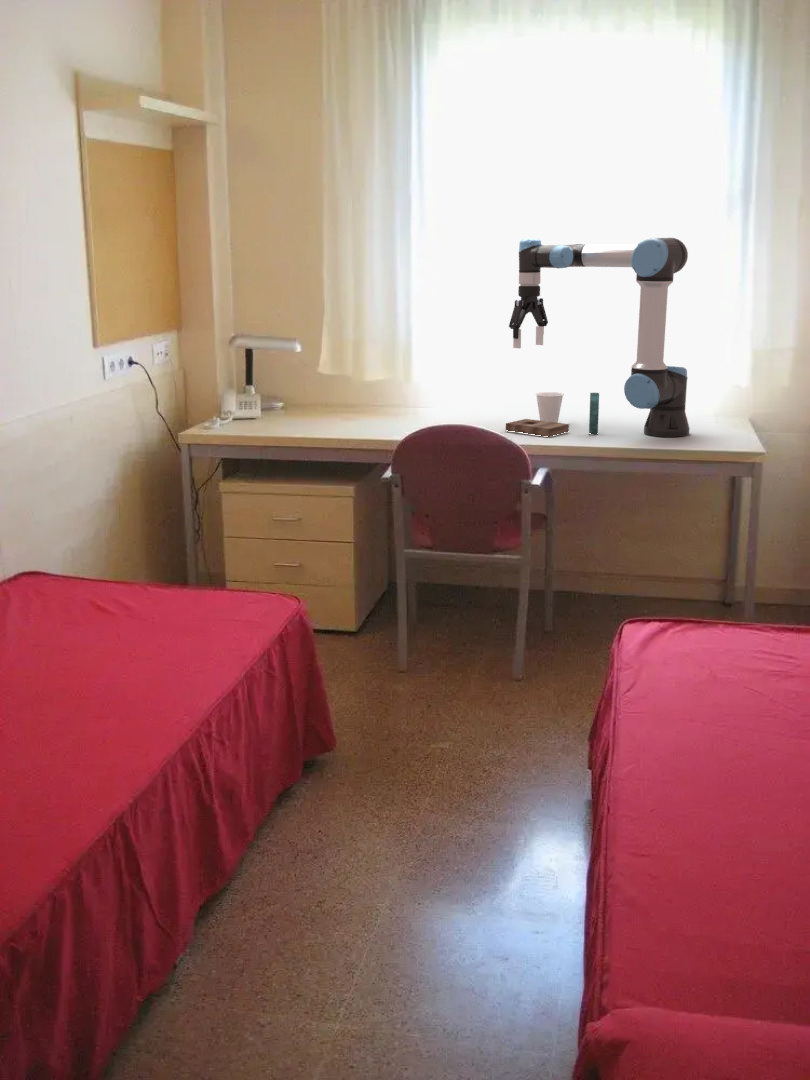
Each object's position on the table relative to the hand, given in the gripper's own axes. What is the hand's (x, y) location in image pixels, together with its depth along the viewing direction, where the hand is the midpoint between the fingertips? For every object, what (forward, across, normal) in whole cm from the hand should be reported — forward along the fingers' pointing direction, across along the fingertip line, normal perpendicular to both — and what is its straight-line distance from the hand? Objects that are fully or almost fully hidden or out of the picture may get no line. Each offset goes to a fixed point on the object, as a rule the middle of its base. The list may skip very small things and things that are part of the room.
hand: (528, 346), depth 406 cm
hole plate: (+28, +12, +12) cm, 33 cm away
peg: (+28, +3, +30) cm, 41 cm away
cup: (+28, -4, +6) cm, 29 cm away
